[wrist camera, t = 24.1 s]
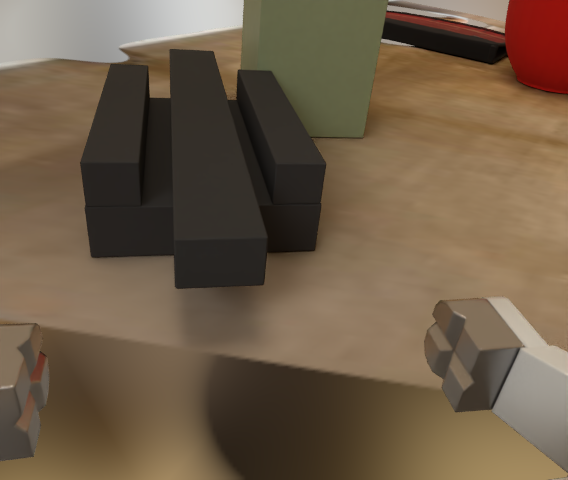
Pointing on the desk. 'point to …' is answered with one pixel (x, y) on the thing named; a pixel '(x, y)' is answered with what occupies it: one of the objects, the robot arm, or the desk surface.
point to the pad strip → (210, 183)
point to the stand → (318, 57)
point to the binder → (445, 36)
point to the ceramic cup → (538, 43)
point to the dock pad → (158, 166)
